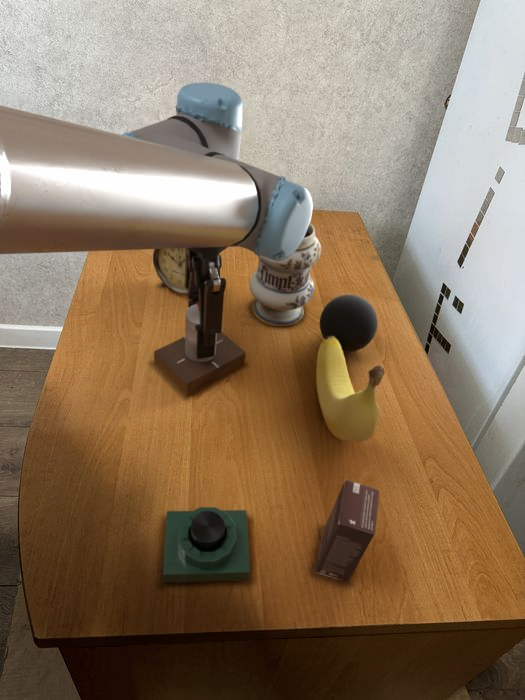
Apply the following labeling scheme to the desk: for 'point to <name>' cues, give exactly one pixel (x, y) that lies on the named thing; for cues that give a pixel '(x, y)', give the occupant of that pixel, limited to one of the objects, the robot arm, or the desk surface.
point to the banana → (345, 395)
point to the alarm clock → (171, 268)
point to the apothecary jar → (285, 283)
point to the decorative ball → (349, 322)
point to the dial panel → (198, 364)
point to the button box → (206, 565)
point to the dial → (193, 333)
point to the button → (207, 530)
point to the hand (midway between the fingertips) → (200, 343)
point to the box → (348, 531)
